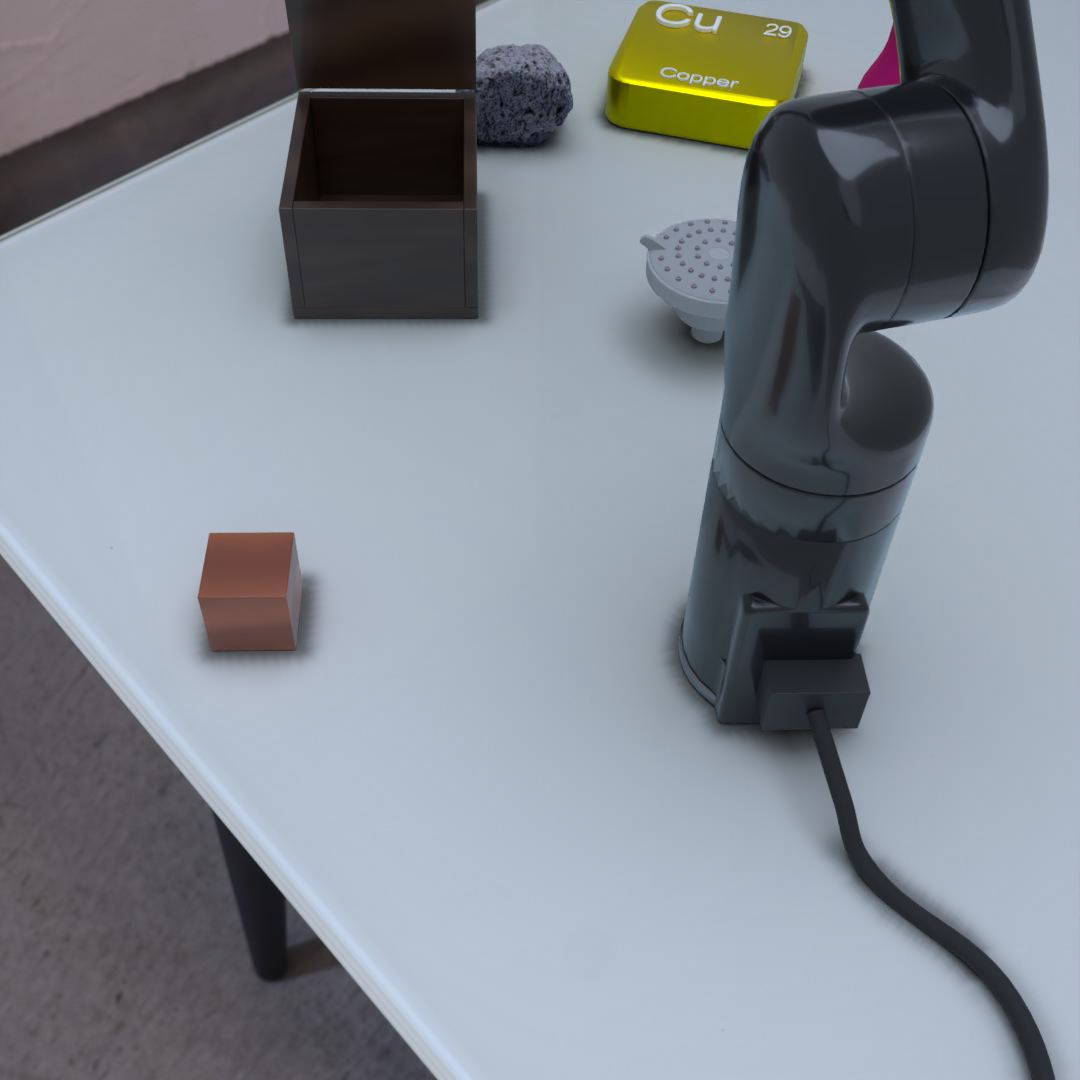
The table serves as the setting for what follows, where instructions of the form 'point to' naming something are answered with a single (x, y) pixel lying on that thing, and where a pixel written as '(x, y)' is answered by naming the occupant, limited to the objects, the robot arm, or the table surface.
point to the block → (251, 591)
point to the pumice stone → (519, 95)
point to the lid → (383, 44)
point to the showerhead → (694, 272)
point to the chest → (382, 205)
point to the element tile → (703, 72)
